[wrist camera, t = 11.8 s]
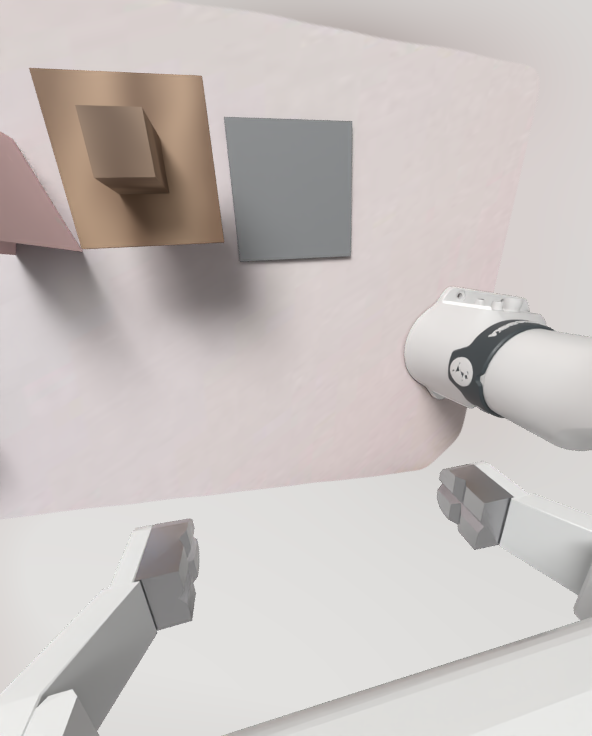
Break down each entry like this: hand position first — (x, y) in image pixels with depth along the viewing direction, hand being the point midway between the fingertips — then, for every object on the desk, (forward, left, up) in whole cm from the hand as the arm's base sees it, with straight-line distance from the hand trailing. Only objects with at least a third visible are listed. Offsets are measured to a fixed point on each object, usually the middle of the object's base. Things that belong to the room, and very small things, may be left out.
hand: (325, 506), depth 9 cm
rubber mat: (-6, -16, -33) cm, 37 cm away
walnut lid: (+9, -16, -23) cm, 29 cm away
